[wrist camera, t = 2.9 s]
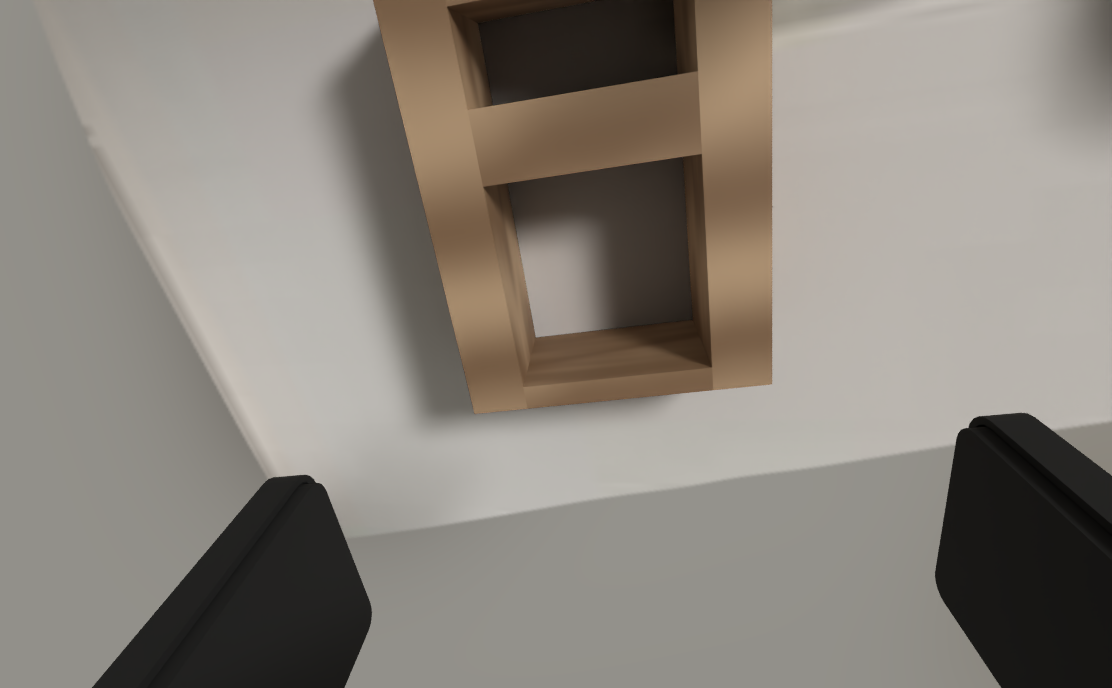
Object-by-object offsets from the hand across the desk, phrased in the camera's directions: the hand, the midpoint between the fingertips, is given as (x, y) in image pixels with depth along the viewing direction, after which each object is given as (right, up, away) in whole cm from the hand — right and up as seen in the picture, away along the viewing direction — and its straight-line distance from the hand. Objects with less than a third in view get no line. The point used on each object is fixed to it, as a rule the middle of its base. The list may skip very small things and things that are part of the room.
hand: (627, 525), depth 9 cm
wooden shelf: (+1, +10, +16) cm, 18 cm away
